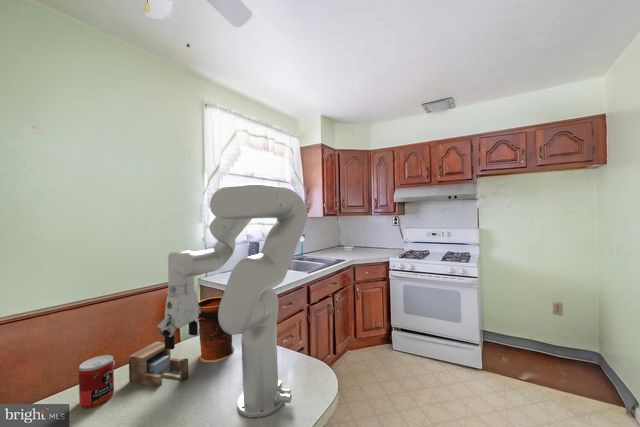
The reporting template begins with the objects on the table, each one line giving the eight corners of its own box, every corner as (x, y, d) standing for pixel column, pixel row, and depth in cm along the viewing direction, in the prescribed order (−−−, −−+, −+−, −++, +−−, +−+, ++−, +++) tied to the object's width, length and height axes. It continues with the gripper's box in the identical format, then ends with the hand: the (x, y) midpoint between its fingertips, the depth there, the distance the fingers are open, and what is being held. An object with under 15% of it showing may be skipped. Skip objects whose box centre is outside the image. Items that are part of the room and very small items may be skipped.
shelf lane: (184, 368, 91) (183, 344, 92) (158, 387, 81) (157, 360, 82) (157, 364, 95) (156, 341, 95) (129, 381, 85) (128, 356, 85)
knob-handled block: (194, 374, 88) (194, 355, 88) (180, 385, 82) (179, 365, 82) (156, 368, 92) (156, 351, 92) (140, 378, 86) (139, 360, 87)
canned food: (94, 410, 72) (93, 369, 72) (71, 407, 74) (70, 367, 74) (120, 392, 80) (120, 355, 80) (99, 390, 81) (98, 354, 82)
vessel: (191, 352, 103) (191, 300, 104) (227, 341, 111) (227, 294, 112) (200, 367, 91) (199, 309, 92) (240, 354, 100) (239, 301, 101)
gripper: (168, 297, 77) (169, 356, 76) (209, 282, 93) (209, 331, 93) (148, 295, 79) (149, 353, 78) (192, 281, 95) (192, 329, 95)
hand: (182, 341), depth 86 cm, fingers open, 9 cm apart
